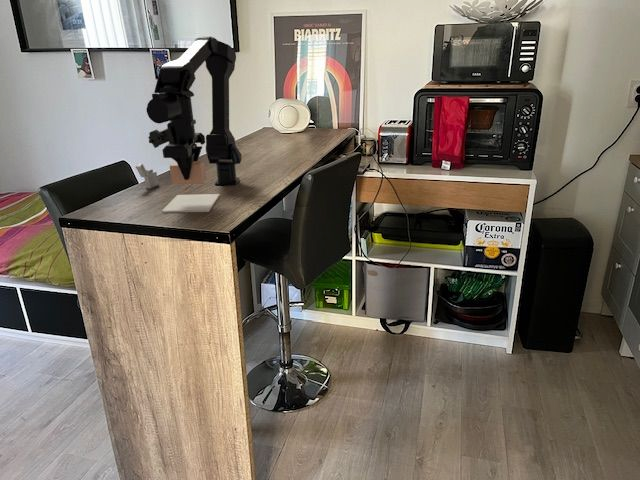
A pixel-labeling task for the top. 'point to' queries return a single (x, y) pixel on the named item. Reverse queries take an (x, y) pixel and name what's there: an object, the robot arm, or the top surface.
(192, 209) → the mat
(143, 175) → the grey jagged block
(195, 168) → the tan rectangular block
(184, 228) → the top surface
